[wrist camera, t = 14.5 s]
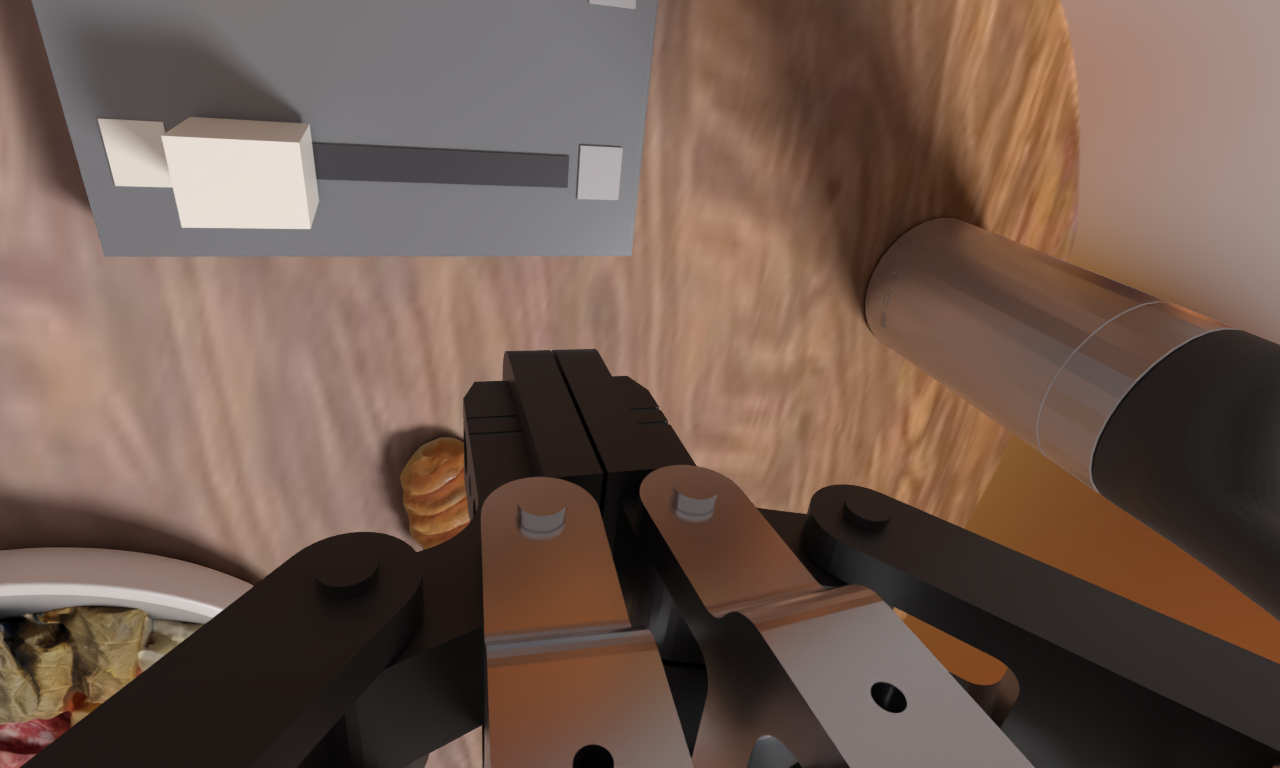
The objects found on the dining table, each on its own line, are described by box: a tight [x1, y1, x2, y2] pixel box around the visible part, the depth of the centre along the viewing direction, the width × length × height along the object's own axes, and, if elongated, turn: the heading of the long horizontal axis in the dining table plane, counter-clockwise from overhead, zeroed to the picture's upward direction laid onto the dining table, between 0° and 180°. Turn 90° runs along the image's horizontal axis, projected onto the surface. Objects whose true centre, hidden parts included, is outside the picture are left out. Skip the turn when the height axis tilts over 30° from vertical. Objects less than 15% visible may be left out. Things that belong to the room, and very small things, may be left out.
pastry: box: [400, 437, 470, 549], centre depth 39 cm, size 9×7×4 cm
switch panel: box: [32, 0, 658, 256], centre depth 27 cm, size 22×16×3 cm
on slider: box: [161, 117, 319, 229], centre depth 24 cm, size 4×3×4 cm
